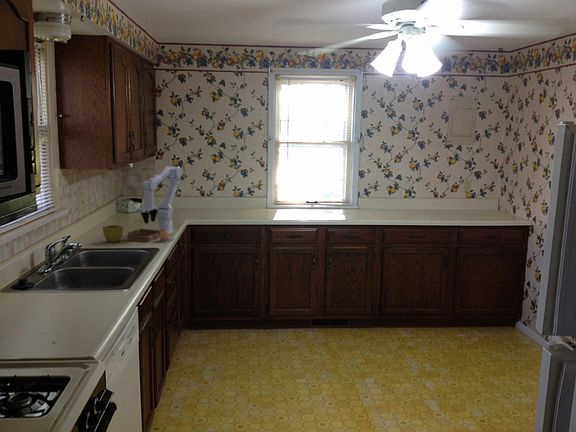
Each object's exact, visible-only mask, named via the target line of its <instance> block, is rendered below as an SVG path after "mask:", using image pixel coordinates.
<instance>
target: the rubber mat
mask: <svg viewBox="0 0 576 432" xmlns="http://www.w3.org/2000/svg"><path fill="white" fill-rule="evenodd" d="M174 240H176V238H169V241H160V239H156V240H153V243H159V242H160V243H162V244H166V243H169V242H172V241H174Z"/></svg>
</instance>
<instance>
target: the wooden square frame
mask: <svg viewBox="0 0 576 432" xmlns="http://www.w3.org/2000/svg"><path fill="white" fill-rule="evenodd" d="M127 233H128V234H127V235H126V237H127V238H126V240H127V241H133V242H134V241H135V242H143V241H144V242H145V243H149V241H150V242H152V241H156V240H159V239H160V230H159V229H151V228H150V229H148V228H138V229H134V230H131V231H129V232H127Z"/></svg>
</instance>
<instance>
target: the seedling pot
mask: <svg viewBox="0 0 576 432" xmlns="http://www.w3.org/2000/svg"><path fill="white" fill-rule="evenodd" d="M169 235H170V234H169V230H160V238H159V240H160V241H169V239H170V237H169ZM169 242H170V241H169Z"/></svg>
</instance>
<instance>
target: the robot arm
mask: <svg viewBox="0 0 576 432" xmlns="http://www.w3.org/2000/svg"><path fill="white" fill-rule="evenodd" d="M182 171H183V170H182V167H180V166H168V165H167V166H166V167H164V169H163V170H162V171H161V172H160V173H158V174H154V175H152V177H151V178H149V179H148V180H145V181H143V182H142V185H141V188H142V192H143V195H144V196H143V197H144V207H142V209H141V211H140V215H141V217H142V219H143V222H144V224H149V220H150V221H151V222H153V223H154V222H155V220H157V221H158V230H169V235H171V234H173V233H174V230H173V228H174V227H173V224H174V223H173V221H172V218H173V215H174V214H173V213H174V209H173V207H172V204H173V201H174V200H175V199H174V198H175V195H176V192H177V189H178V187H179V183H180V180H181V178H182V175H183V172H182ZM165 178H166V179H167V180H168V181H169V185H168V188H167V190H166V193H165V195H164V196H165V197H164V199H163V202H162V204H161V205H159V206H157V205H155V190H156V188H157V187H158V186H159V185H161V183H162V180H164V179H165ZM149 218H150V219H149Z"/></svg>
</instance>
